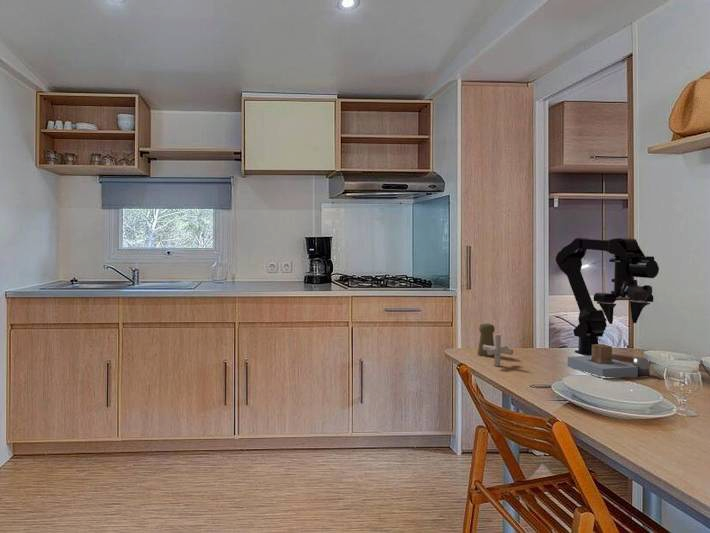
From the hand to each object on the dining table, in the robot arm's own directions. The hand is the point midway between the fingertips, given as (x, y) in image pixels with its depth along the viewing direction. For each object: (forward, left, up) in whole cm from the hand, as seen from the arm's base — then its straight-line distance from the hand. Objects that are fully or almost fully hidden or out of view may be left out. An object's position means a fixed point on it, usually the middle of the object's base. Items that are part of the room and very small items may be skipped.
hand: (622, 323), depth 168 cm
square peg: (+9, -15, -13) cm, 22 cm away
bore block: (+9, -15, -13) cm, 22 cm away
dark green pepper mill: (-19, -39, -13) cm, 45 cm away
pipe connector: (-4, -43, -13) cm, 45 cm away
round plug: (+15, -6, -13) cm, 21 cm away
